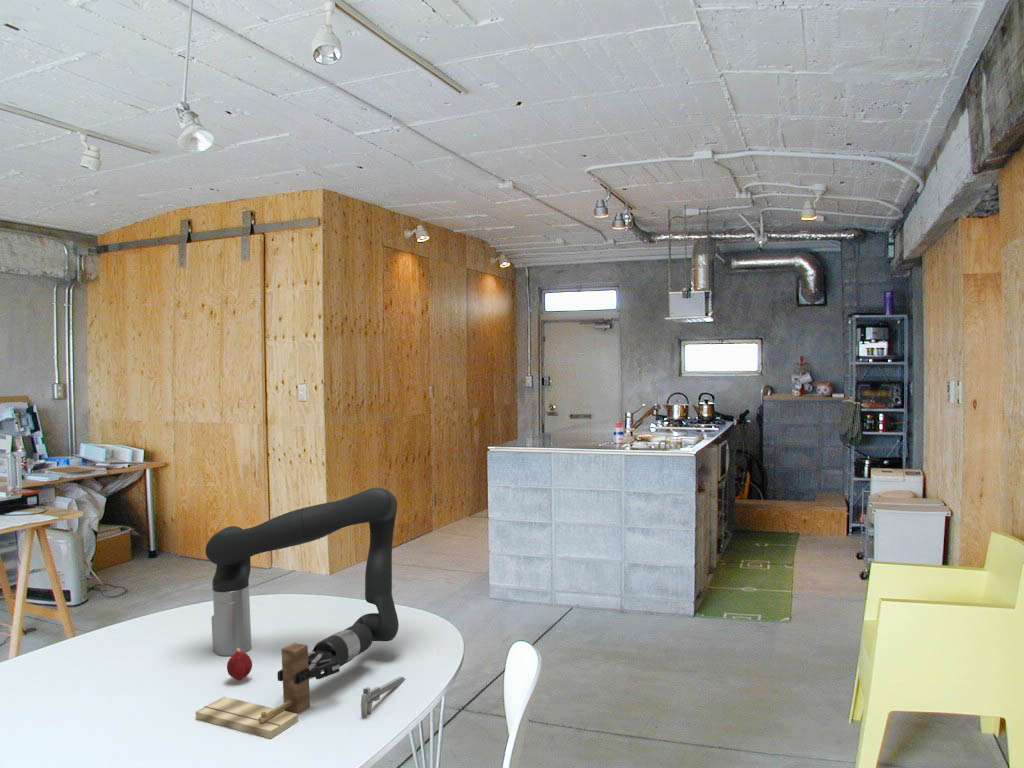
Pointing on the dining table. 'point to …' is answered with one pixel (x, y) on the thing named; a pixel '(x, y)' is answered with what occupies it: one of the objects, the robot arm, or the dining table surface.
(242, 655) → the onion
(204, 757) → the dining table surface
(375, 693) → the caliper
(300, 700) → the block
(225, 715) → the board
